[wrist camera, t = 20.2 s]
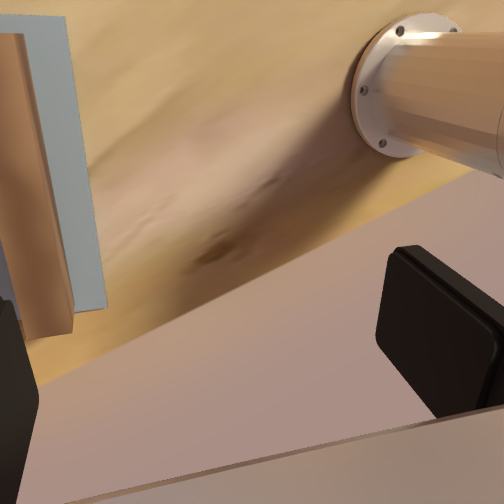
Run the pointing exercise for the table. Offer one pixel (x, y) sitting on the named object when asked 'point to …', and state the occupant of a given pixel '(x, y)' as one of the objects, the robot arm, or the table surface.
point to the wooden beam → (29, 203)
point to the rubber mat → (61, 157)
